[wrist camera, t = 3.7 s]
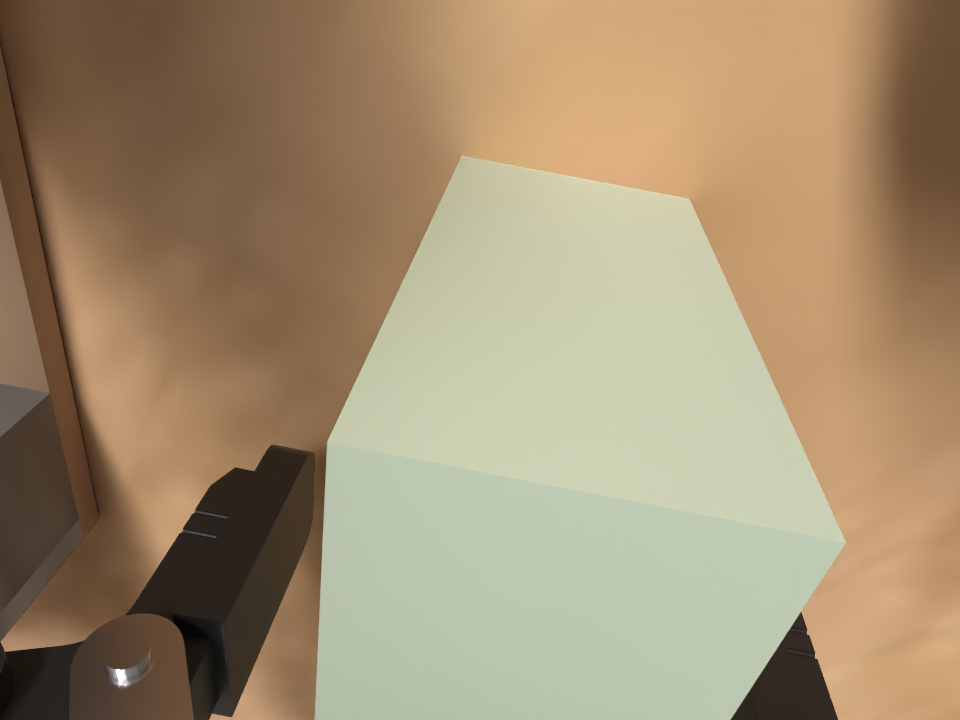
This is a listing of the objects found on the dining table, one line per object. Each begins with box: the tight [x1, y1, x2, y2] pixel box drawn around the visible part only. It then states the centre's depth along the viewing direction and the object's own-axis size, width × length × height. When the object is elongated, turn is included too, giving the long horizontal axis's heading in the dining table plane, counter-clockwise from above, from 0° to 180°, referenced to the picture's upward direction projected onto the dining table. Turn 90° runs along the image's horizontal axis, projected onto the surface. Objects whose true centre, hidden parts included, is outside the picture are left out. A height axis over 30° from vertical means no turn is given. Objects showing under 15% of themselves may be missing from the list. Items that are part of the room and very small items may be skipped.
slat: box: [315, 156, 846, 720], centre depth 11 cm, size 4×12×7 cm, turn 171°
